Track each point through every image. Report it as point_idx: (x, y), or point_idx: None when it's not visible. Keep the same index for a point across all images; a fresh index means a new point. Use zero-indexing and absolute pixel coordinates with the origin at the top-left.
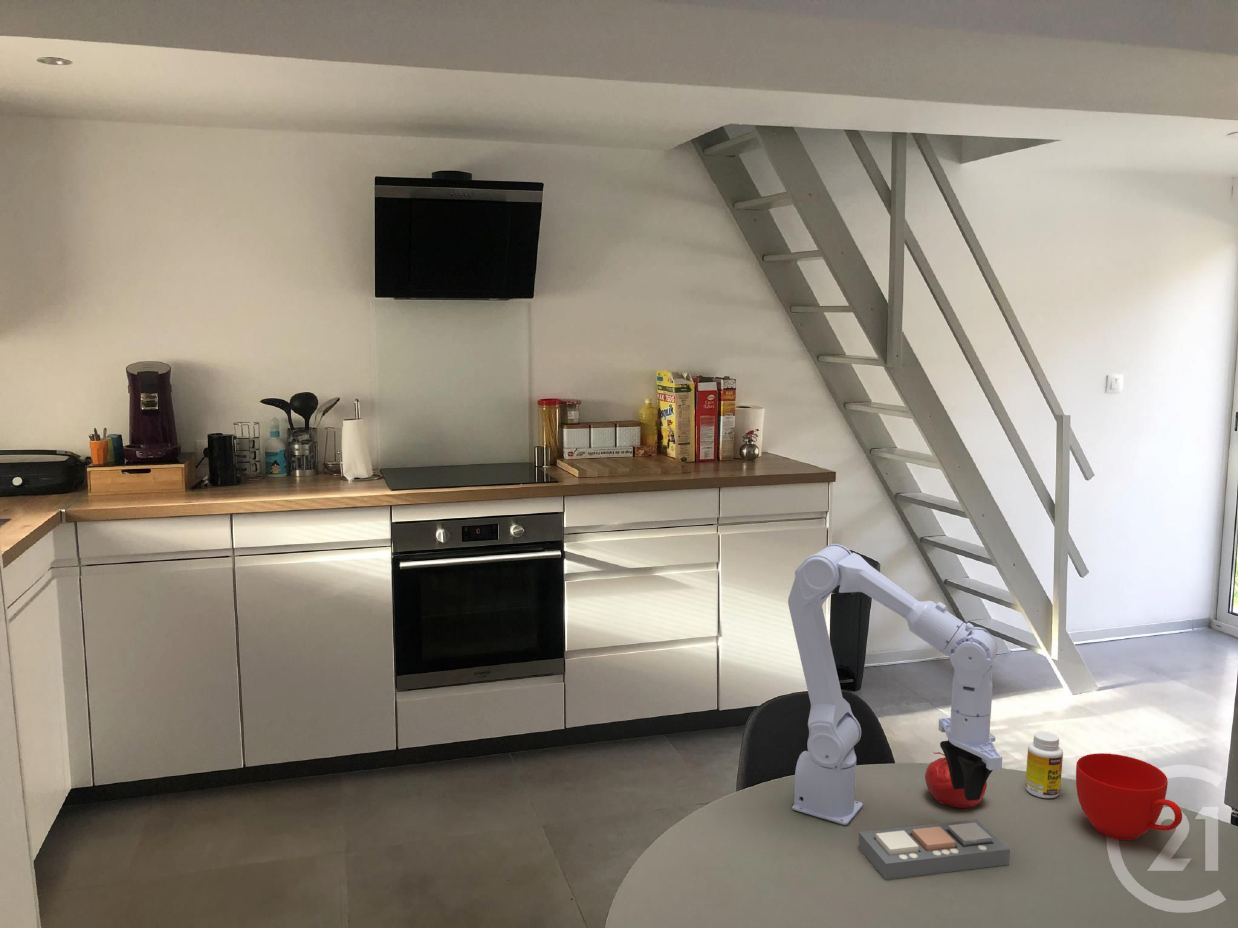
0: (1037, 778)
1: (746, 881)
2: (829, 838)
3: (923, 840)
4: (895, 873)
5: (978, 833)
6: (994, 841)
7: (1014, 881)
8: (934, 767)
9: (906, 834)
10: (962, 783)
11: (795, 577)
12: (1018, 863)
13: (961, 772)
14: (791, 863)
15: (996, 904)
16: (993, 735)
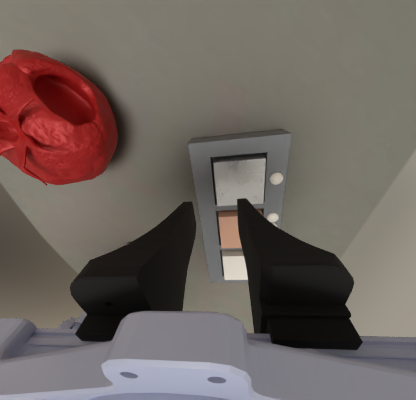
0: None
1: None
2: (193, 281)
3: None
4: None
5: (247, 173)
6: (261, 148)
7: (323, 144)
8: (52, 180)
9: (232, 257)
10: (191, 217)
11: None
12: (284, 111)
13: (185, 238)
14: (228, 308)
15: (355, 192)
16: (190, 368)
